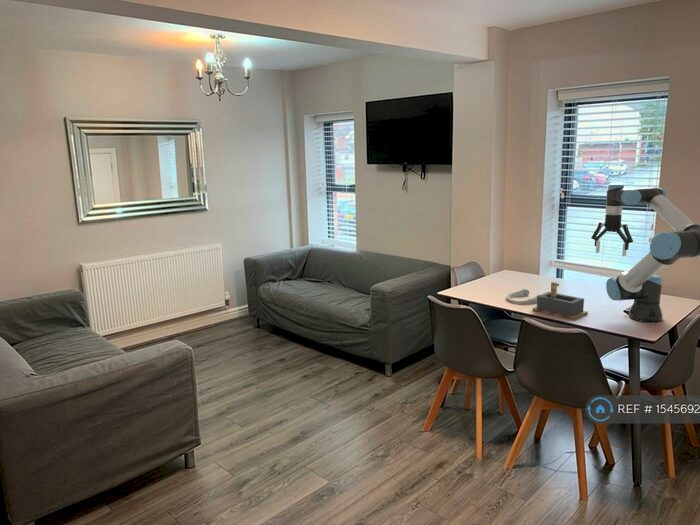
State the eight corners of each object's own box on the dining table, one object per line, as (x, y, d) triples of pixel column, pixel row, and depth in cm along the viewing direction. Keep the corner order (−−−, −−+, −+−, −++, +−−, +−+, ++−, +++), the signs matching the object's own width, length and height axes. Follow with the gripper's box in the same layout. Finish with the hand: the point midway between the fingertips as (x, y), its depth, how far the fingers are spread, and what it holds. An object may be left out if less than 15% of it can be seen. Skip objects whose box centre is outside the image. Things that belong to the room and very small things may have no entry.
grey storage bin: (583, 311, 277) (584, 298, 276) (572, 316, 270) (572, 303, 268) (548, 303, 292) (548, 291, 291) (536, 308, 285) (537, 296, 283)
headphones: (517, 306, 296) (518, 297, 295) (501, 298, 311) (501, 290, 310) (544, 302, 301) (545, 294, 300) (527, 295, 316) (527, 287, 315)
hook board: (587, 314, 276) (589, 285, 273) (574, 320, 268) (576, 290, 264) (545, 305, 294) (547, 277, 291) (532, 310, 286) (533, 282, 282)
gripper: (642, 214, 261) (638, 256, 266) (592, 211, 280) (590, 250, 284) (636, 216, 256) (632, 258, 261) (586, 212, 275) (583, 252, 280)
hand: (610, 254), depth 273 cm, fingers open, 13 cm apart
